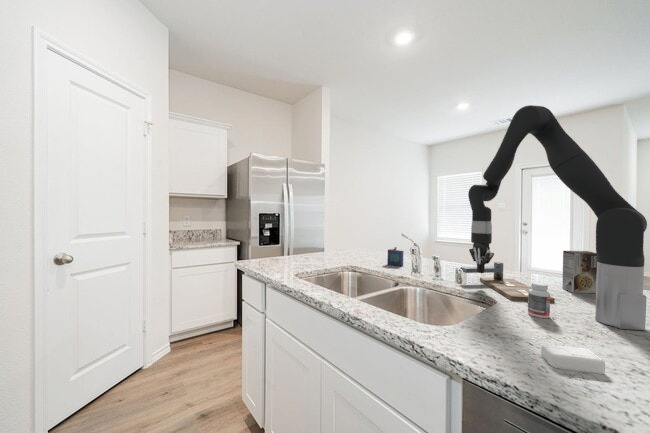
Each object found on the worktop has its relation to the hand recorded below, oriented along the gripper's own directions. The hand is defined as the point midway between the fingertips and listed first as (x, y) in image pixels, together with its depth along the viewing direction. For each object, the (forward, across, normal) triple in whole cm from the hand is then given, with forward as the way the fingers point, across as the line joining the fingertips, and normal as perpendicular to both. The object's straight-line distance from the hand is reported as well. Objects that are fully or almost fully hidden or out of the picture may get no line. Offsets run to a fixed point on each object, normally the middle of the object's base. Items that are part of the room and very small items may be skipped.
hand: (480, 272), depth 117 cm
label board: (+6, +6, +10) cm, 13 cm away
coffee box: (+6, +9, +37) cm, 38 cm away
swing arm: (+4, -6, +5) cm, 9 cm away
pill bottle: (+6, +31, -3) cm, 32 cm away
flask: (+6, -47, -20) cm, 51 cm away
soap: (+7, +57, -20) cm, 61 cm away
